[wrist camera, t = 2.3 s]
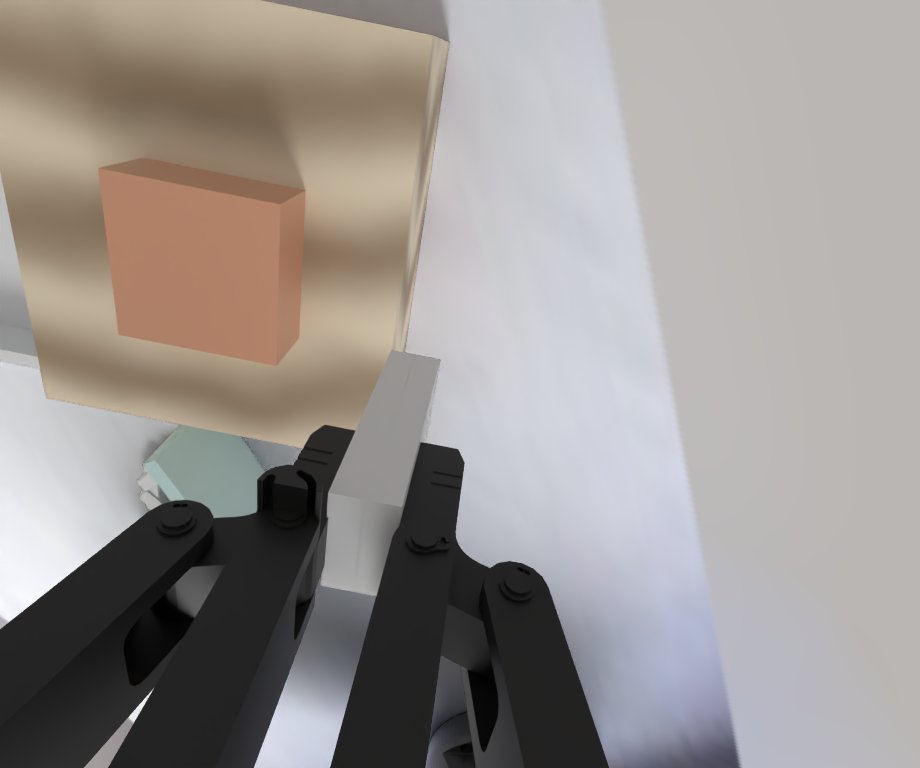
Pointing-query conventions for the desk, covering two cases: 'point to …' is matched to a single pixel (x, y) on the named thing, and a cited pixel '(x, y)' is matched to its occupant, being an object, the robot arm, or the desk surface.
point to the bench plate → (228, 152)
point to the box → (13, 300)
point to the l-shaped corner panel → (202, 472)
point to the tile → (204, 258)
